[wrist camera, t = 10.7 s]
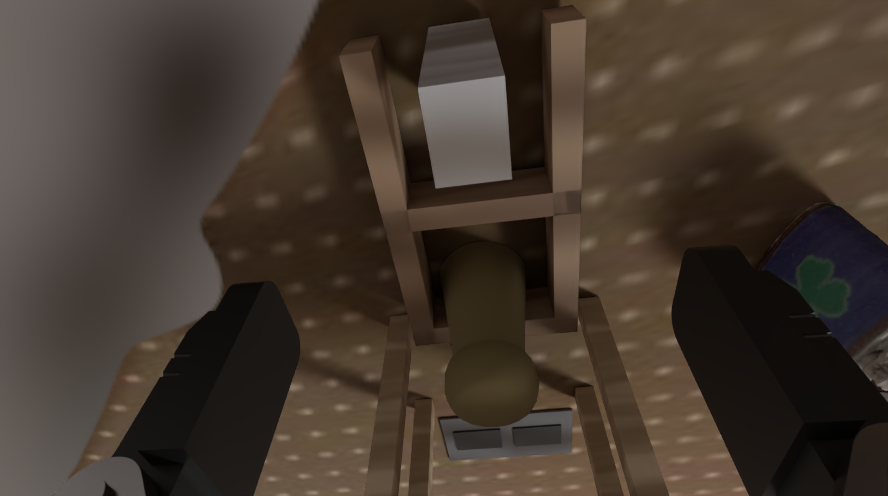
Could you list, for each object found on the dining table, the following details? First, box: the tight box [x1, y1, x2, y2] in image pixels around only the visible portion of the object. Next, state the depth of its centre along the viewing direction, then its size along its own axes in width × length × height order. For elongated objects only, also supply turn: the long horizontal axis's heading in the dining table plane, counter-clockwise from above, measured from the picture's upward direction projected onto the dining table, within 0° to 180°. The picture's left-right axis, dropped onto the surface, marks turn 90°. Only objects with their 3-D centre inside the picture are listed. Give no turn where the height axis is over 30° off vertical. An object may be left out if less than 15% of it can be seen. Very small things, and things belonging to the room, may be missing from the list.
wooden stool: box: [364, 297, 669, 496], centre depth 35 cm, size 21×17×16 cm
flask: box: [755, 201, 888, 391], centre depth 28 cm, size 9×3×11 cm, turn 168°
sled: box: [339, 5, 586, 346], centre depth 26 cm, size 20×11×9 cm, turn 8°
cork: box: [441, 242, 539, 427], centre depth 30 cm, size 6×6×11 cm
